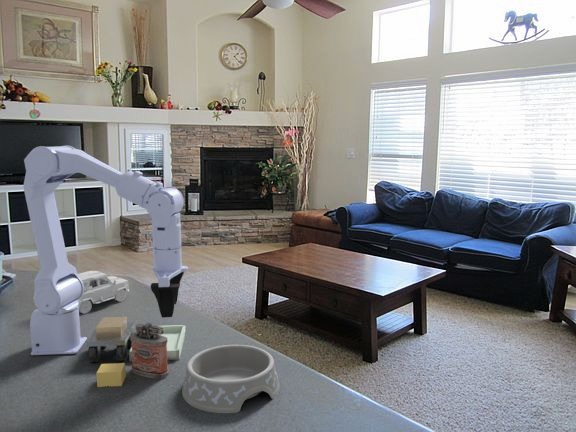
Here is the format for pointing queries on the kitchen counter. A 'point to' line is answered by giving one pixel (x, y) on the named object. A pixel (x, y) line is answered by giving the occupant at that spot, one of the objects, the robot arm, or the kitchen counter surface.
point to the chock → (111, 375)
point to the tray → (172, 341)
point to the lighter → (149, 351)
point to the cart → (111, 337)
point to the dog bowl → (229, 377)
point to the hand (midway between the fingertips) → (169, 310)
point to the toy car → (100, 289)
